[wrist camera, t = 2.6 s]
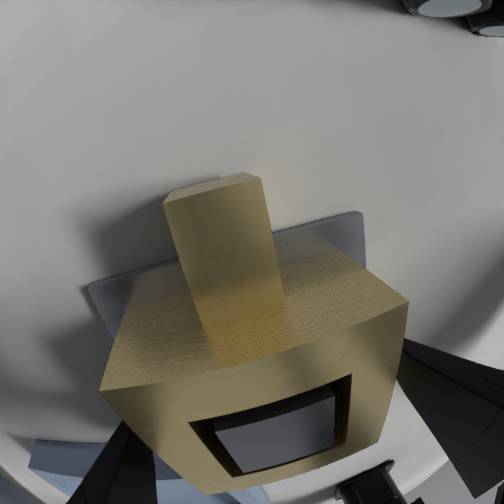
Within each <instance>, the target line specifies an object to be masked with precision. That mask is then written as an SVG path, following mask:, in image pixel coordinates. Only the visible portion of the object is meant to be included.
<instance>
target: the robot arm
mask: <svg viewBox="0 0 504 504" xmlns="http://www.w3.org/2000/svg"><path fill="white" fill-rule="evenodd" d="M396 379H397V381H398V383H399V385H400V387H401V388H402V390H403V392H404V393H405V395H406V396H407V398H408V399H409V400H410V402H411V403H412V405H413V406H414V408H415V409H416V410H417V412H418V413H419V415H420V416H421V418H422V419H423V420H424V422H425V423H426V425H427V426H428V428H429V429H430V431H431V432H432V434H433V435H434V436H435V438H436V439H437V441H438V442H439V444H440V445H441V447H442V448H443V450H444V451H445V453H446V454H447V456H448V458H449V459H450V461H451V462H452V464H453V465H454V467H455V468H456V470H457V472H458V473H459V475H460V476H461V478H462V480H463V481H464V483H465V484H466V486H467V488H468V489H469V491H470V493H471V494H472V496H473V497H474V499H476V498H477V497H479V496H480V495H482V494H484V493H485V492H487V491H488V490H489V489H491V488H492V487H494V486H495V485H496V484H498V483H499V482H501V481H502V480H503V479H504V370H500V369H496V368H492V367H489V366H485V365H482V364H479V363H478V364H477V363H476V362H473V361H470V360H467V359H464V358H461V357H458V356H455V355H452V354H449V353H446V352H443V351H440V350H437V349H434V348H432V347H429V346H426V345H423V344H420V343H417V342H414V341H412V340H409V339H406V338H404V340H403V346H402V352H401V357H400V362H399V367H398V372H397V376H396ZM394 463H395V462H394V460H390V461H388V462H387V463H385V464H383V465H381V466H379V467H377V468H375V469H373V470H371V471H369V472H367V473H365V474H363V475H361V476H358V477H356V478H354V479H352V480H349V481H347V482H345V483H342V484H340V485H338V486H337V487H336V493H335V500H340V499H342V500H343V502H344V504H407V502H406V501H405V499H404V498H403V496H402V494H401V492H400V491H399V489H398V487H397V486H396V484H395V482H394V481H393V479H392V478H391V476H390V474H389V471H390V470H391V468H392V466H393V465H394ZM66 504H158V499H157V487H156V472H155V463H154V456H153V451H152V450H151V449H150V448H149V447H148V446H147V445H146V444H145V443H144V442H143V441H142V440H141V439H140V438H139V437H138V436H137V435H136V434H135V432H134V431H133V430H132V429H131V428H130V427H129V426H128V425H127V424H126V423H125V422H124V420H122V422H121V423H120V424H119V426H118V427H117V429H116V430H115V432H114V433H113V435H112V436H111V438H110V439H109V441H108V442H107V444H106V445H105V447H104V448H103V450H102V451H101V453H100V454H99V456H98V457H97V459H96V460H95V462H94V463H93V465H92V466H91V468H90V469H89V471H88V472H87V474H86V475H85V477H84V478H83V480H82V481H81V484H80V485H79V486H78V487H77V489H76V490H75V492H74V493H73V495H72V496H71V498H70V499H69V500H68V502H67V503H66ZM411 504H424V502H423V500H422V499H421V497H419V498H417V499H416V500H415V501H414V502H413V503H411ZM494 504H504V482H503V483H502V484H501V485H500V486H499V487H498V490H497V495H496V499H495V503H494Z"/></svg>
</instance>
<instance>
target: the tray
mask: <svg viewBox="0 0 504 504" xmlns="http://www.w3.org/2000/svg"><path fill="white" fill-rule="evenodd" d="M105 445H106V444H91V443H66V442H54V441H44V440H36V442H35V445H34V448H33V452H32V455H31V459H30V462H29V466H28V468H29V469H30V470H32V471H33V472H34V473H36V474H37V475H38V476H40V477H41V478H43V479H44V480H45V481H47V482H48V483H50V484H51V485H53V486H54V487H56V488H57V489H59V490H60V491H62V492H63V493H65V494H67V495H68V496H70V497H71V496H72V495H73V493H74V492H75V490H76V489H77V487H78V486H79V485H80V484H81V481H82V480H83V478H84V477H85V475H86V474H87V472H88V471H89V469H90V468H91V466H92V465H93V463H94V462H95V460H96V459H97V457H98V456H99V454H100V453H101V451H102V450H103V448H104V447H105ZM153 456H154V463H155V472H156V487H157V499H158V504H270V502H269V498H268V495H267V494H266V492H265V491H264V490H263V488H262V487H261V486H255V487H251V488H246V489H241V490H235V491H230V492H224V493H217V494H209V495H205V494H203V493H202V492H201V491H199V490H198V489H197V488H195V487H194V486H193V485H191V484H190V483H189V482H188V481H186V480H185V479H184V478H183V477H181V476H180V475H179V474H178V473H177V472H176V471H174V470H173V469H172V468H171V467H170V466H169V465H167V464H166V463H165V462H164V461H163V460H162V459H161V458H160V457H159V456H158V455H157V454H156V453H154V452H153Z"/></svg>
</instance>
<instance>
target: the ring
mask: <svg viewBox="0 0 504 504" xmlns="http://www.w3.org/2000/svg"><path fill="white" fill-rule="evenodd" d="M162 205H163V208H164V211H165V215H166V218H167V222H168V225H169V228H170V232H171V235H172V238H173V241H174V244H175V248H176V251H177V254H178V257H179V260H180V263H181V266H182V269H183V272H184V275H185V278H186V281H187V284H188V286H189V289H190V293H186V294H183V295H179V296H175V297H171V298H167V299H164V300H160V301H156V302H152V303H148V304H144V305H140V306H136V307H132V308H128V309H126V310H125V313H124V315H123V318H122V321H121V324H120V327H119V329H118V332H117V335H116V338H115V341H114V344H113V347H112V350H111V353H110V356H109V359H108V362H107V366H106V369H105V372H104V376H103V379H102V382H101V386H100V389H99V392H100V393H101V394H102V395H103V397H104V398H105V399H106V400H107V402H108V403H109V404H110V405H111V406H112V408H113V409H114V410H115V411H116V412H117V414H118V415H119V416H120V417H121V418H122V419H123V420H124V422H125V423H126V424H127V425H128V426H129V427H130V428H131V429H132V430H133V431H134V432H135V434H136V435H137V436H138V437H139V438H140V439H141V440H142V441H143V442H144V443H145V444H146V445H147V446H148V447H149V448H150V449H151V450H152V451H153V452H154V453H156V454H157V455H158V456H159V457H160V458H161V459H162V460H163V461H164V462H165V463H166V464H167V465H169V466H170V467H171V468H172V469H173V470H174V471H176V472H177V473H178V474H179V475H180V476H181V477H183V478H184V479H185V480H186V481H188V482H189V483H190V484H191V485H193V486H194V487H195V488H197V489H198V490H199V491H201V492H202V493H203V494H205V495H209V494H217V493H224V492H230V491H235V490H241V489H246V488H251V487H255V486H260V485H264V484H268V483H272V482H276V481H279V480H283V479H286V478H290V477H293V476H296V475H299V474H303V473H306V472H309V471H311V470H314V469H317V468H320V467H323V466H325V465H328V464H330V463H333V462H335V461H338V460H340V459H343V458H345V457H347V456H350V455H352V454H354V453H356V452H359V451H361V450H363V449H365V448H367V447H369V446H371V445H373V444H375V443H377V442H378V440H379V437H380V434H381V431H382V428H383V425H384V422H385V418H386V415H387V412H388V408H389V404H390V401H391V397H392V393H393V389H394V385H395V381H396V376H397V372H398V367H399V362H400V357H401V352H402V346H403V340H404V334H405V327H406V320H407V312H408V303H409V301H408V300H406V299H405V298H404V297H403V296H401V295H400V294H399V293H397V292H396V291H395V290H393V289H392V288H391V287H389V286H388V285H387V284H385V283H384V282H383V281H381V280H380V279H379V278H377V277H376V276H375V275H373V274H372V273H371V272H369V271H368V270H367V269H365V268H364V267H363V266H361V265H360V264H358V263H357V262H356V261H354V260H353V259H351V258H350V257H349V256H347V255H346V254H344V253H343V252H342V251H340V250H338V251H334V252H331V253H328V254H324V255H321V256H318V257H314V258H311V259H307V260H304V261H301V262H297V263H294V264H290V265H287V266H284V267H280V268H279V267H278V262H277V256H276V251H275V246H274V241H273V236H272V230H271V225H270V220H269V215H268V210H267V205H266V201H265V196H264V191H263V186H262V181H261V178H260V177H257V176H254V175H251V174H248V173H245V172H243V173H239V174H234V175H230V176H226V177H222V178H218V179H214V180H210V181H206V182H203V183H199V184H195V185H191V186H188V187H184V188H181V189H177V190H174V191H171V192H170V193H169V195H168V196H167V198H166V199H165V200H164V202H163V203H162ZM327 383H328V385H329V387H330V388H331V390H332V392H333V393H334V395H335V424H334V445H333V446H331V447H328V448H325V449H323V450H320V451H317V452H315V453H312V454H309V455H306V456H303V457H300V458H297V459H294V460H291V461H288V462H284V463H281V464H277V465H274V466H270V467H266V468H262V469H258V470H254V471H250V472H245V473H244V472H243V471H242V470H241V468H240V467H239V466H238V464H237V463H236V462H235V460H234V459H233V458H232V456H231V455H230V453H229V452H228V451H227V449H226V448H225V446H224V445H223V443H222V442H221V440H220V439H219V438H218V436H217V435H216V433H215V430H214V423H213V417H217V416H222V415H226V414H230V413H235V412H239V411H243V410H247V409H250V408H254V407H258V406H261V405H265V404H268V403H272V402H275V401H278V400H281V399H284V398H288V397H291V396H294V395H297V394H300V393H302V392H305V391H308V390H311V389H314V388H316V387H319V386H322V385H324V384H327Z"/></svg>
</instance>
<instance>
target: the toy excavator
mask: <svg viewBox="0 0 504 504" xmlns="http://www.w3.org/2000/svg"><path fill="white" fill-rule="evenodd" d="M402 1H403V3H404V4H405V6H406V8H407V10H408V11H409V12H410V13H411V15H415V14H418V15H423V16H429V17H438V18H447V17H451V18H453V17H460V16H465V17H466V19H467V21H468V23H469V25H470V29H471V31H472V32H474V34H475V35H478V36H485V37H504V0H402Z"/></svg>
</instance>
